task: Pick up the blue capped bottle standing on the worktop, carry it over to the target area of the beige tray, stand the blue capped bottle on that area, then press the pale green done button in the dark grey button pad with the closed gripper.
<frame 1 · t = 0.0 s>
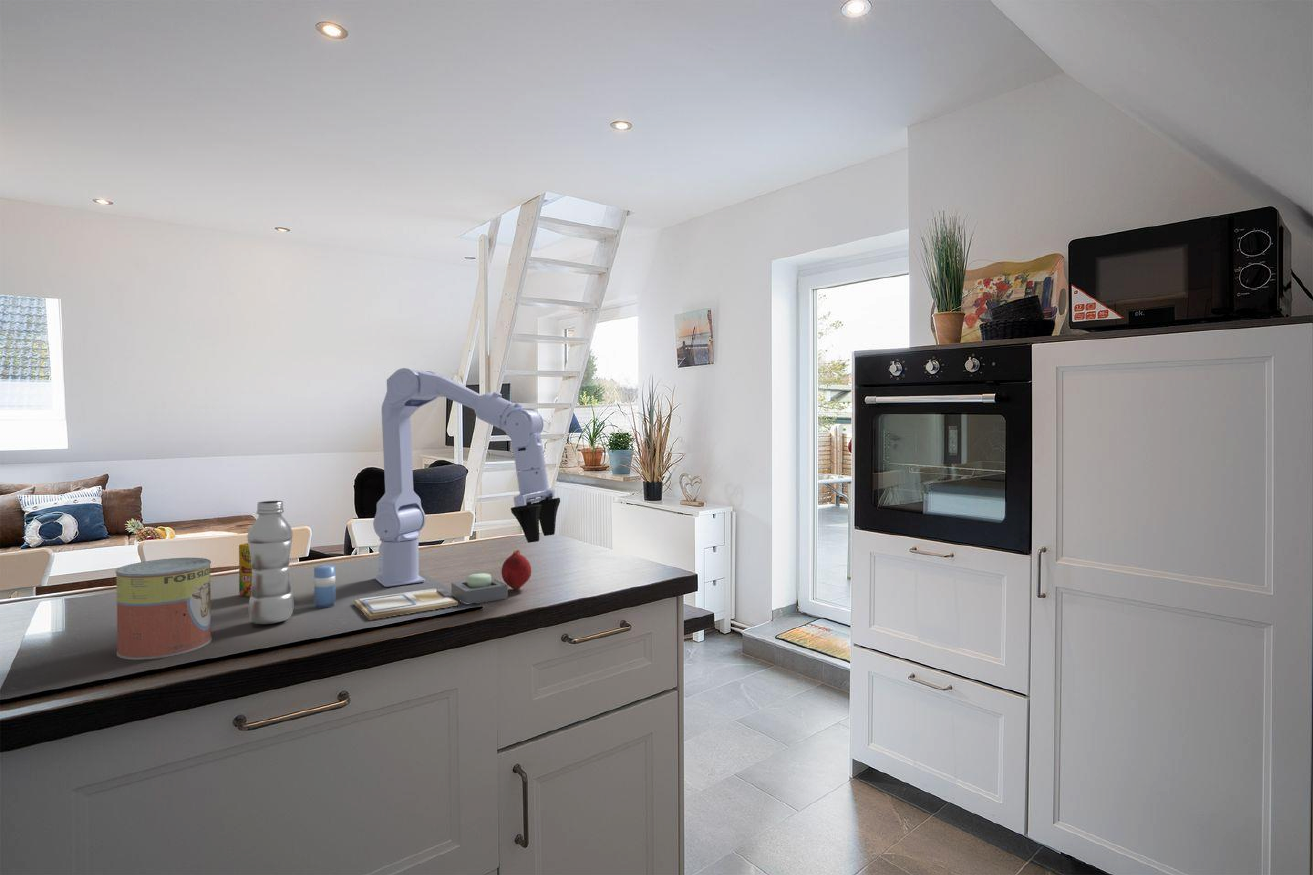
hand: (541, 538, 130), 11 cm above the counter, tool pointing down, fingers open, 7 cm apart
crayon box: (259, 597, 126), on the counter
onion: (516, 590, 132), on the counter
beige tray: (405, 605, 120), on the counter
plastic bottle: (271, 623, 110), on the counter
button pad: (479, 596, 126), on the counter
done button: (479, 581, 126), point 3 cm above the counter, slide at 0.0 cm
canned food: (165, 647, 98), on the counter
blue capped bottle: (324, 605, 120), on the counter
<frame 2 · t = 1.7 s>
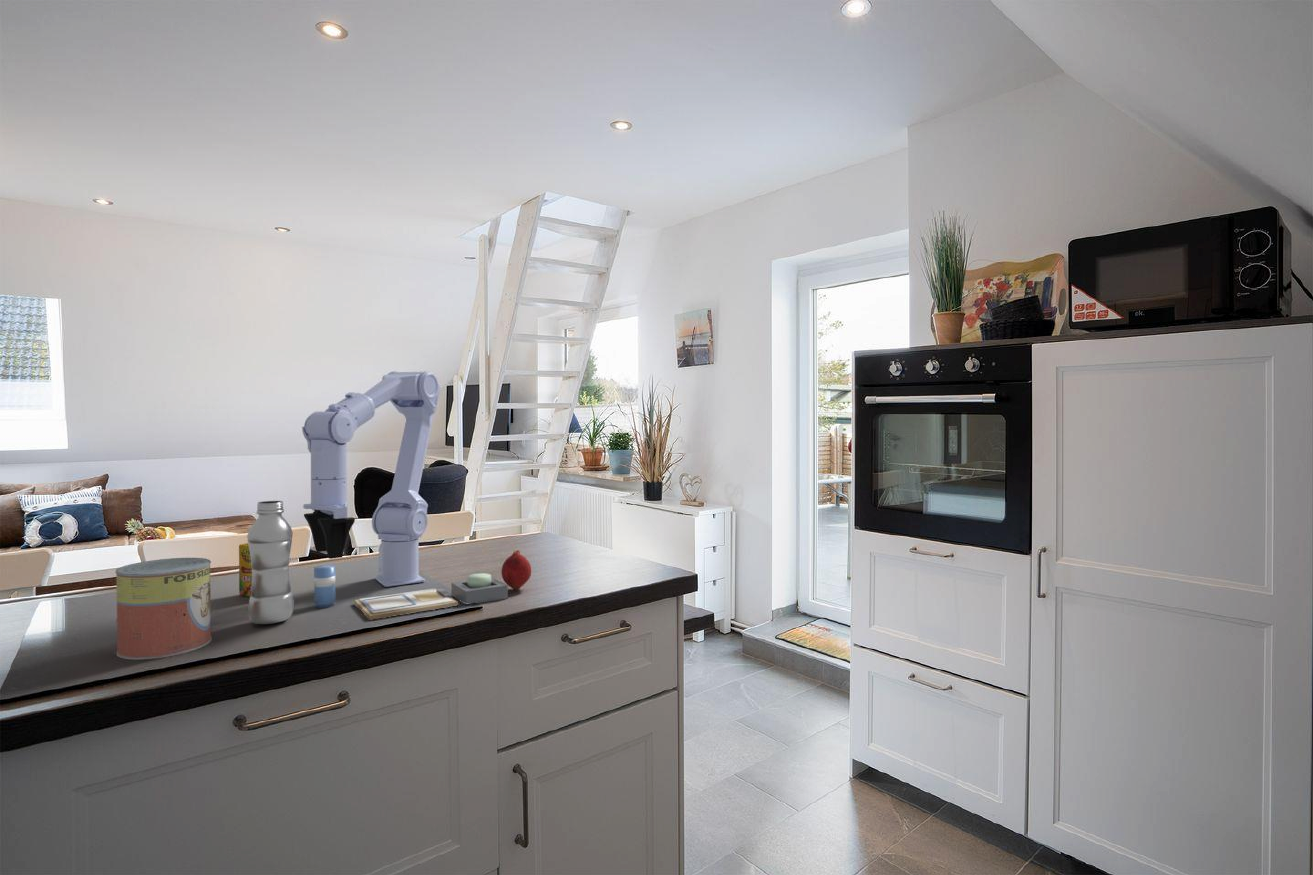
hand: (328, 554, 119), 9 cm above the counter, tool pointing down, fingers open, 7 cm apart
nothing on the counter moved.
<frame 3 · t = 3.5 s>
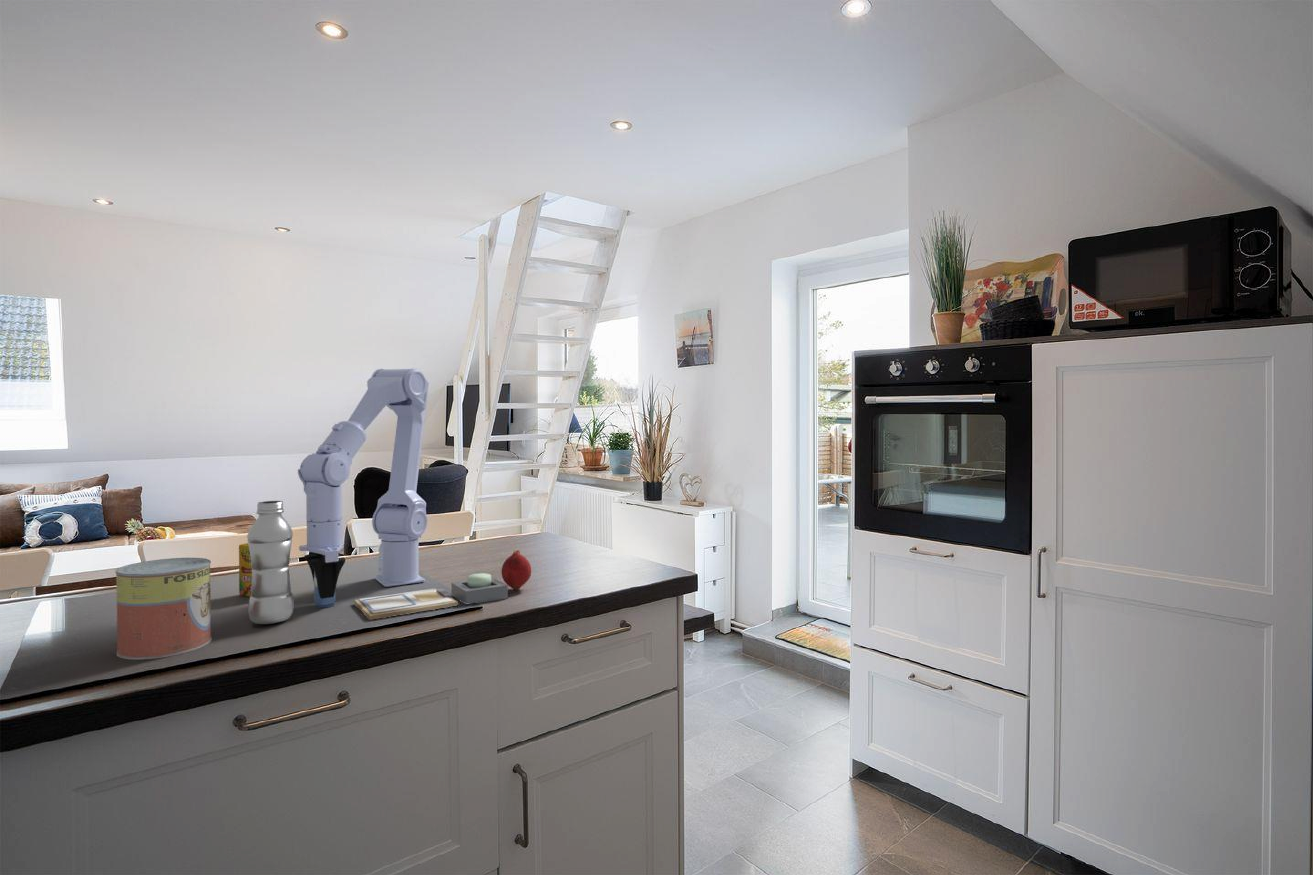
hand: (324, 595, 120), 2 cm above the counter, tool pointing down, fingers closed on blue capped bottle, 3 cm apart
blue capped bottle: (324, 605, 120), on the counter, touching gripper
everything else where it was.
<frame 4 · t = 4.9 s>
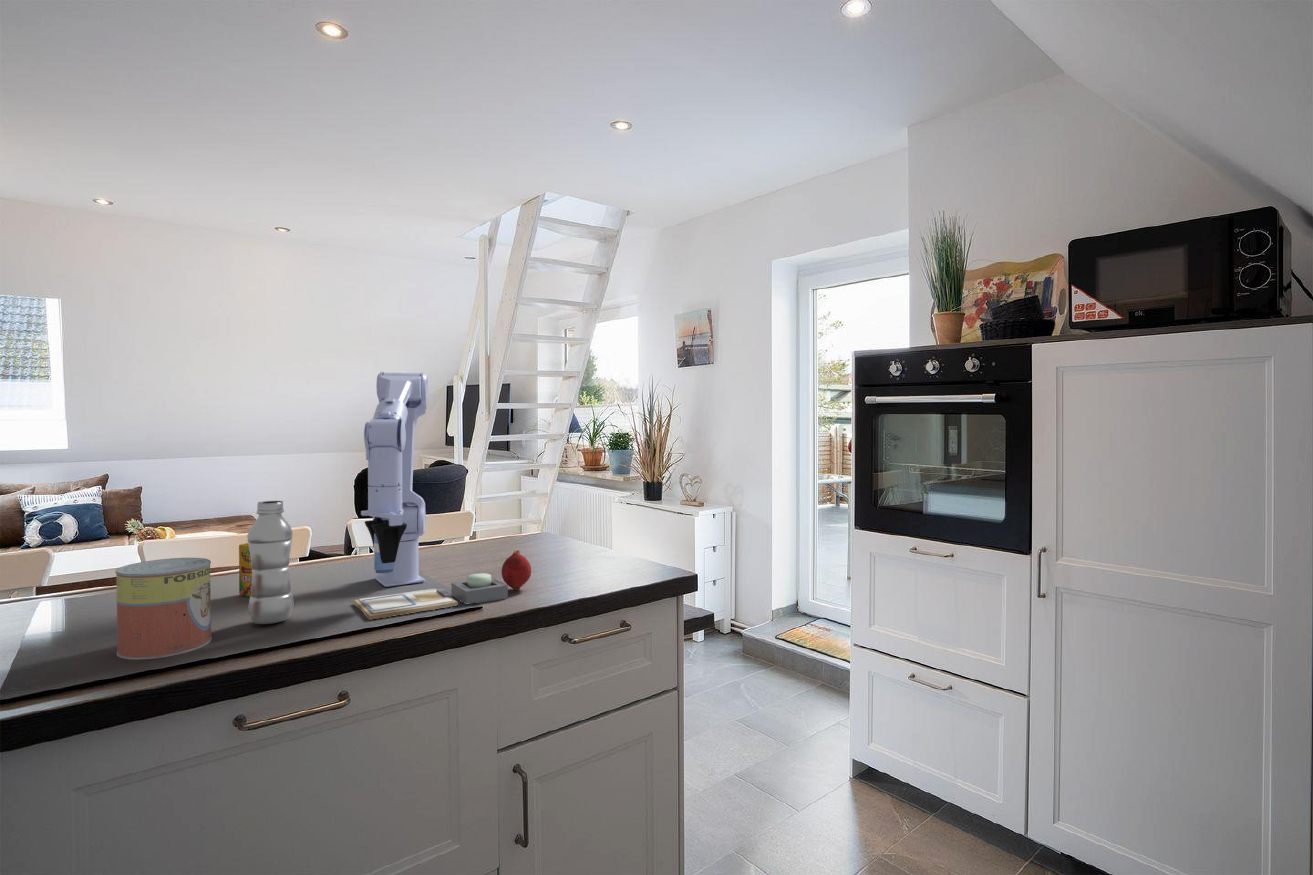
hand: (385, 560, 120), 8 cm above the counter, tool pointing down, fingers closed on blue capped bottle, 3 cm apart
blue capped bottle: (384, 571, 120), point 6 cm above the counter, touching gripper
everything else where it was.
when the fingers open (3 cm above the counter, at t = 6.8 s): blue capped bottle stays where it is, resting on beige tray.
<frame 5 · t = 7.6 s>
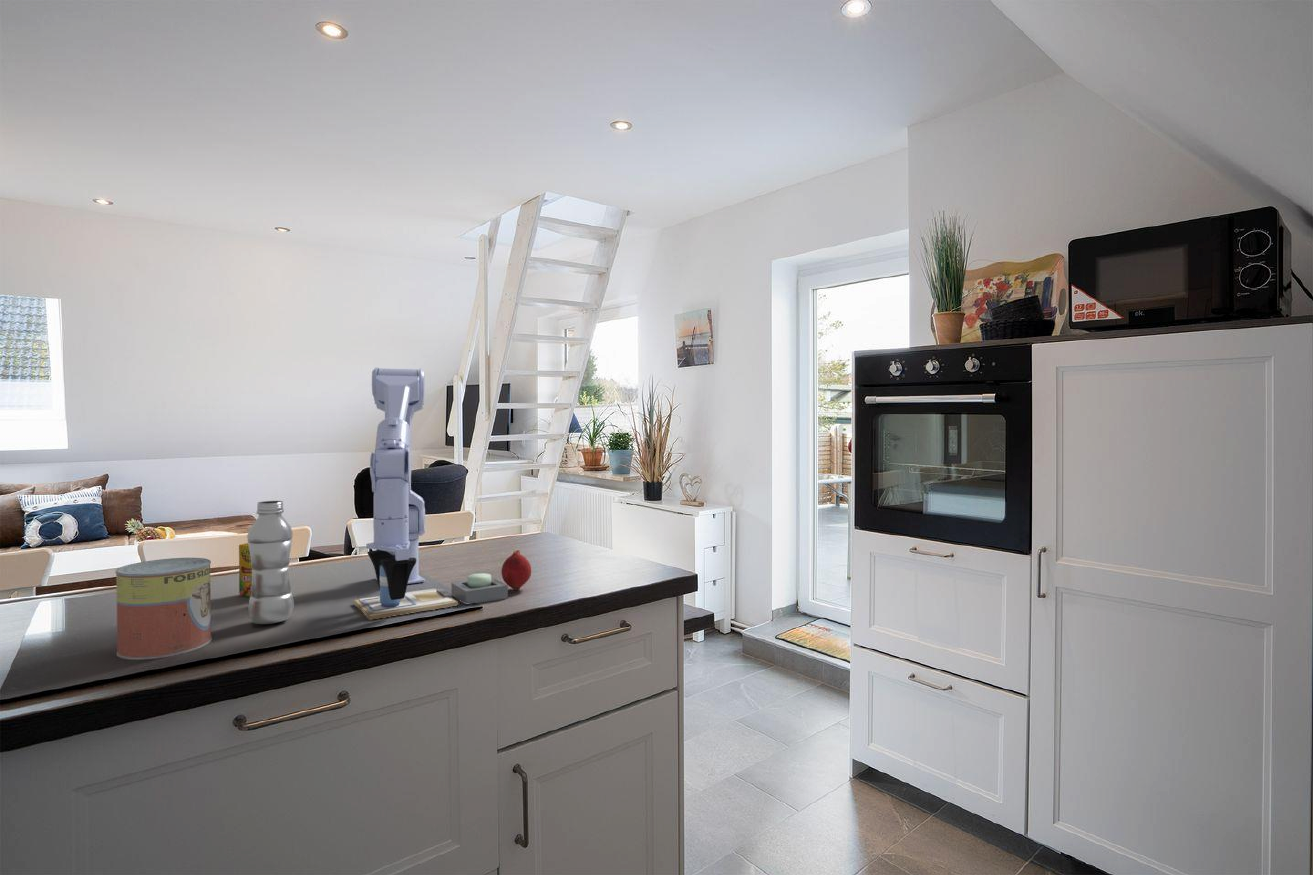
hand: (391, 594, 117), 3 cm above the counter, tool pointing down, fingers open, 7 cm apart
blue capped bottle: (390, 605, 117), point 1 cm above the counter, touching beige tray
everything else where it was.
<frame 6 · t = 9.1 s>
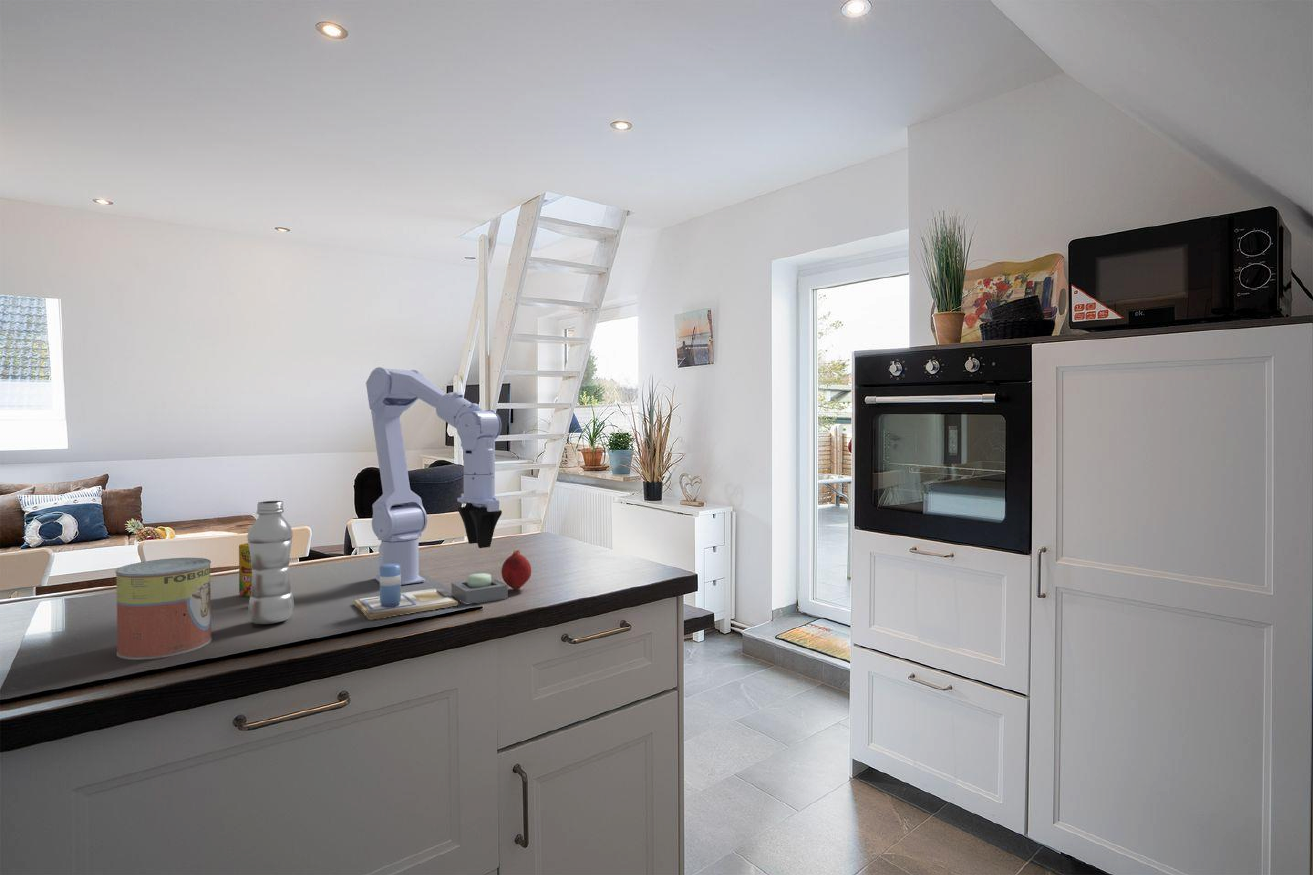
hand: (479, 545, 126), 10 cm above the counter, tool pointing down, fingers open, 4 cm apart
nothing on the counter moved.
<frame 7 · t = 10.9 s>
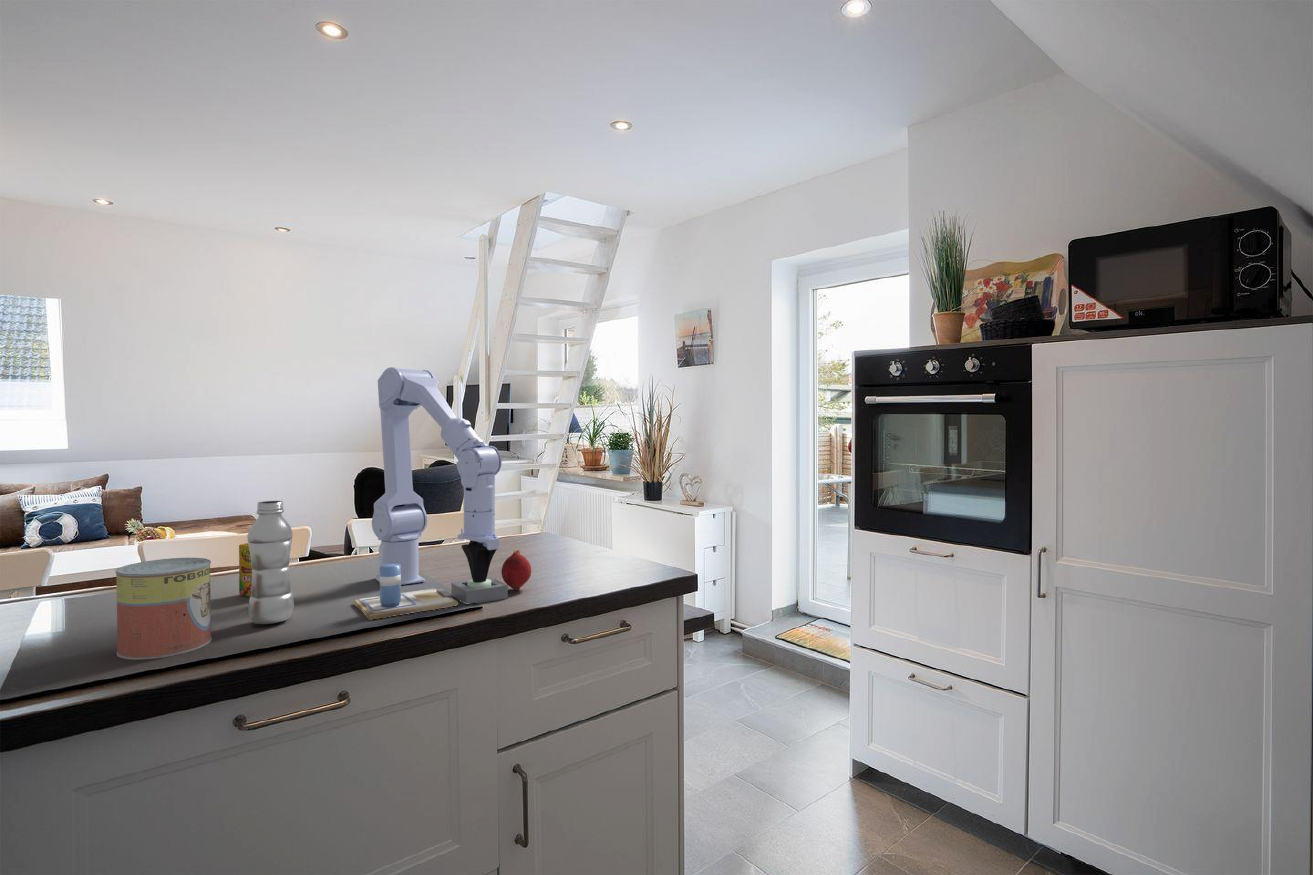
hand: (479, 581, 126), 3 cm above the counter, tool pointing down, fingers closed, pressing on done button
done button: (479, 586, 126), point 2 cm above the counter, slide at 1.0 cm, touching gripper
everything else where it was.
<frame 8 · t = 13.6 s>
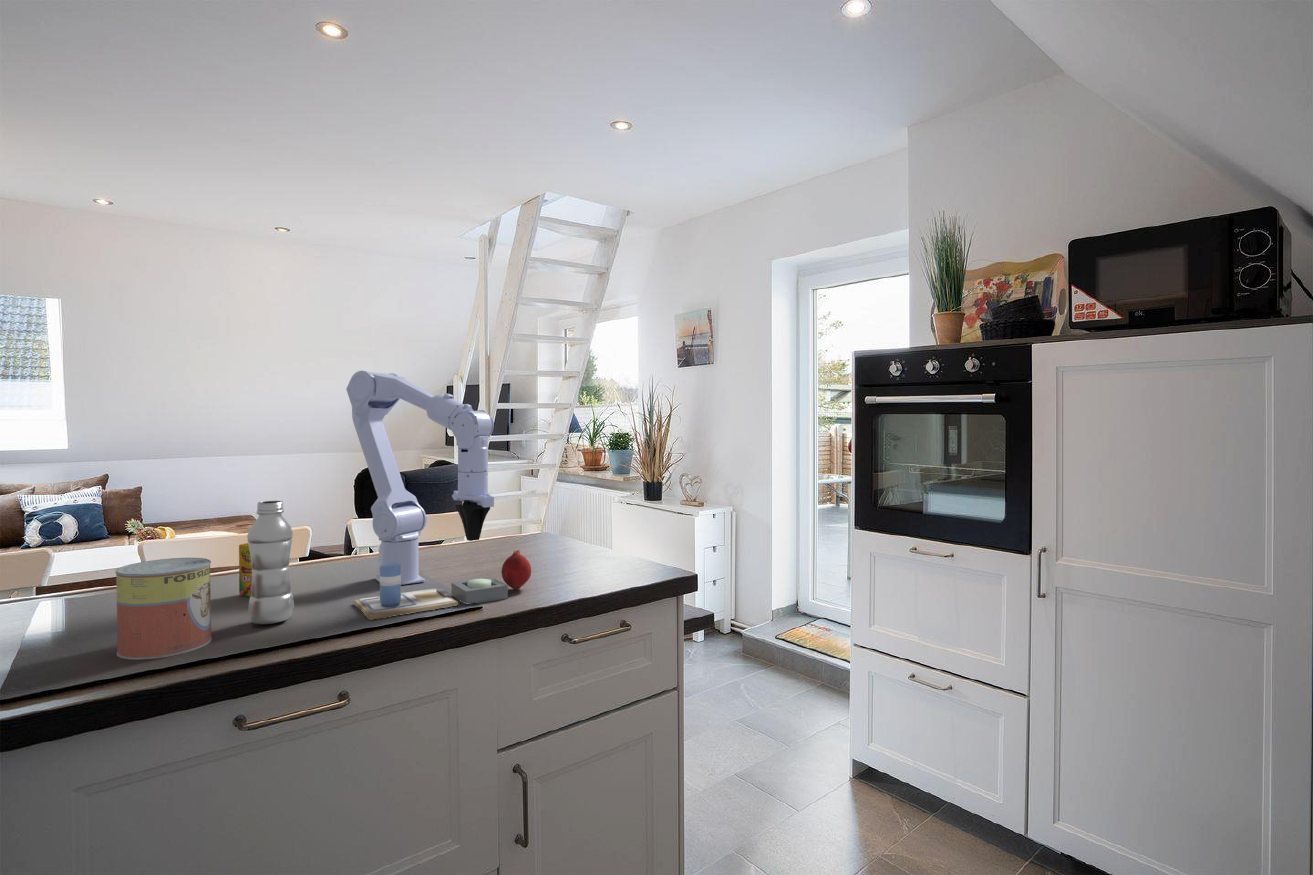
hand: (473, 539, 131), 10 cm above the counter, tool pointing down, fingers closed
done button: (479, 586, 126), point 2 cm above the counter, slide at 1.0 cm
everything else where it was.
at the end: done button slide at 1.0 cm; blue capped bottle inside the target area on the beige tray (3.8 cm from its centre), point 1.0 cm above the beige tray's base; blue capped bottle tilted 0° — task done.
